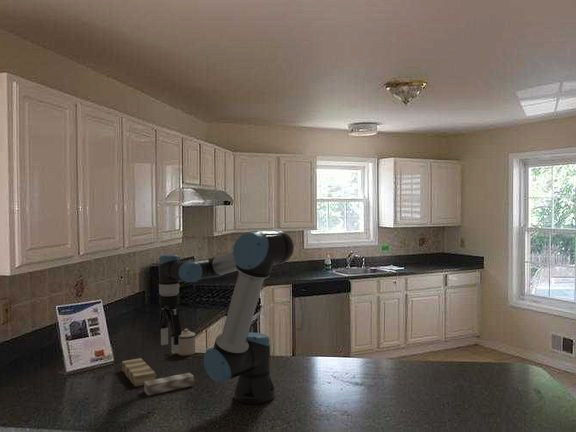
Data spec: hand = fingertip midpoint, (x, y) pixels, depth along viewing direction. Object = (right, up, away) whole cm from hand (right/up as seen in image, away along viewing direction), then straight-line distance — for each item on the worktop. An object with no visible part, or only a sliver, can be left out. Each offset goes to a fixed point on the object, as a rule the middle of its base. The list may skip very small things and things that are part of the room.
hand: (169, 348), depth 181 cm
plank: (0, -15, -1) cm, 15 cm away
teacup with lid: (-5, -15, +44) cm, 47 cm away
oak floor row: (-16, -15, +12) cm, 25 cm away
